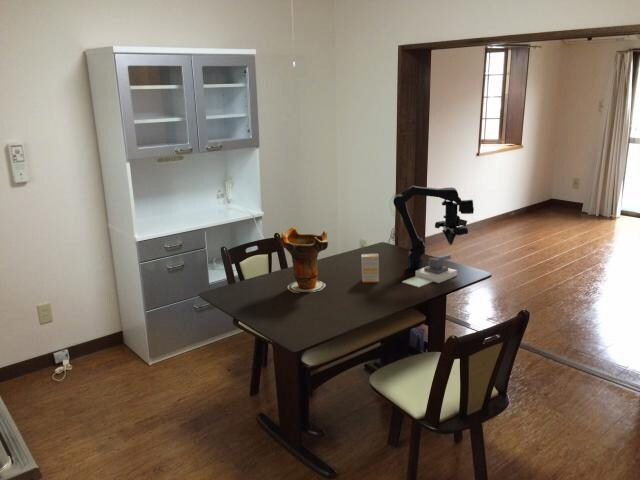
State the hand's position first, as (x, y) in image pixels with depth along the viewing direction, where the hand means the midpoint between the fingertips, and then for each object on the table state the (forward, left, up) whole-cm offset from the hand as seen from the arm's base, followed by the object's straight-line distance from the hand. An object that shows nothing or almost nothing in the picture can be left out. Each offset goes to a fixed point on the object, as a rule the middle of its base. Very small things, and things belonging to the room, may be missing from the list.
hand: (450, 244), depth 268 cm
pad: (0, -26, -13) cm, 29 cm away
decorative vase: (-35, -65, -13) cm, 75 cm away
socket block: (+1, -13, -13) cm, 19 cm away
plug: (+1, -13, -13) cm, 18 cm away
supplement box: (-18, -39, -13) cm, 45 cm away
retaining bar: (-3, -5, -10) cm, 11 cm away
